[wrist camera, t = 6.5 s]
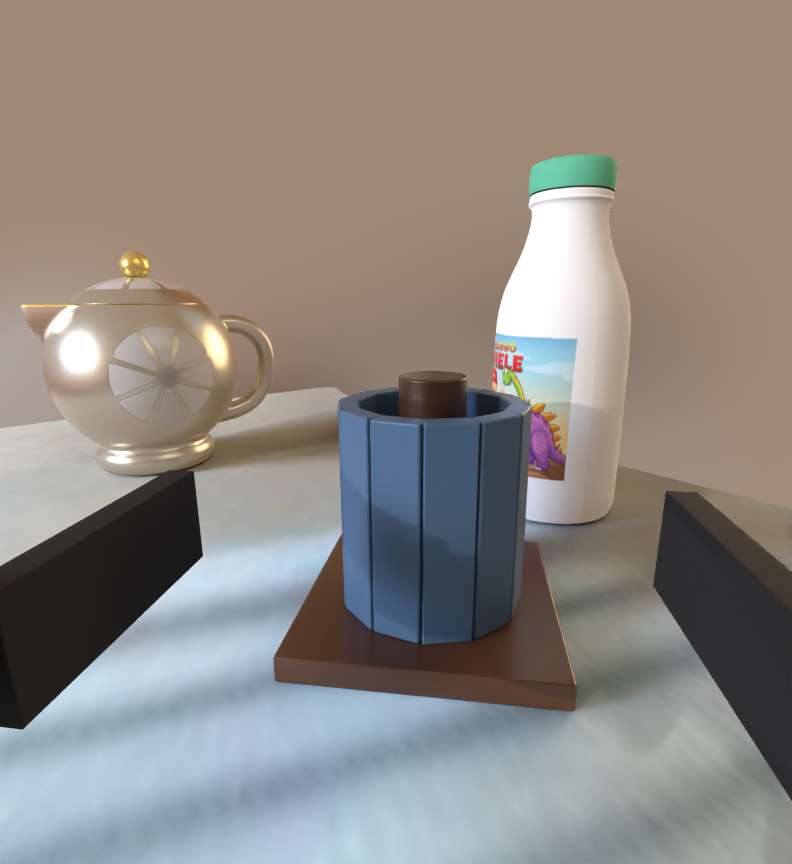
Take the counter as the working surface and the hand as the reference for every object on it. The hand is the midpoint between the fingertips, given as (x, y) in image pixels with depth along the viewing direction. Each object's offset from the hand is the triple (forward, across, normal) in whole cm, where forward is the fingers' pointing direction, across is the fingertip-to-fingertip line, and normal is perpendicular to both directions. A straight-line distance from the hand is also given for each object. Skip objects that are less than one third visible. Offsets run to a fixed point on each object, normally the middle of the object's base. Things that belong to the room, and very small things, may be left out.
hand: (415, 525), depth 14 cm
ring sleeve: (+6, 0, -6) cm, 8 cm away
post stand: (+6, 0, -7) cm, 9 cm away
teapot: (+25, -22, -7) cm, 34 cm away
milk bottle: (+19, +7, -7) cm, 21 cm away
